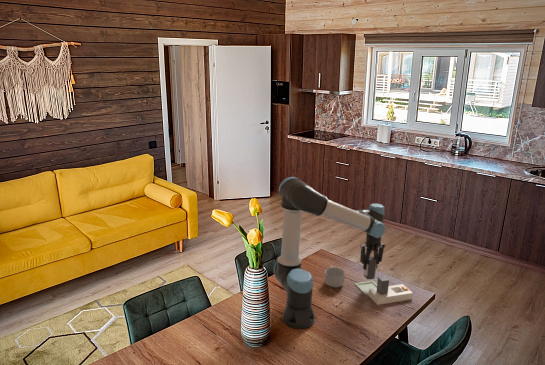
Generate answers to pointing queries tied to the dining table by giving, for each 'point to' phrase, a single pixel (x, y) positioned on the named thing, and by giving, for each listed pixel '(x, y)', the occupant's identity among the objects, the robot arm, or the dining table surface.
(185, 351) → the dining table surface
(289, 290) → the robot arm
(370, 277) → the plug
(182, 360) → the dining table surface
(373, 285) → the tray
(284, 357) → the dining table surface
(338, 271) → the teacup
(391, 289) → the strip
